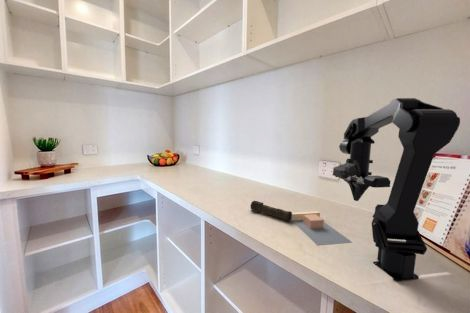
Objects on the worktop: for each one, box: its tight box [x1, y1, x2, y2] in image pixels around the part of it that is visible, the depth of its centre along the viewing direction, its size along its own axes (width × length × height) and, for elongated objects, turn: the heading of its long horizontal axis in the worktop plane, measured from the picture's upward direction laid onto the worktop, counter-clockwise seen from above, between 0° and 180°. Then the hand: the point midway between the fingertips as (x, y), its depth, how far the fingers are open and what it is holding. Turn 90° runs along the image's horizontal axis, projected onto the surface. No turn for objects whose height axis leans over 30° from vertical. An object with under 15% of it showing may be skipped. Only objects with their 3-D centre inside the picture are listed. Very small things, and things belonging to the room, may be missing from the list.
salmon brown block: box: [303, 214, 325, 229], centre depth 71 cm, size 5×5×3 cm
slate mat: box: [290, 210, 353, 247], centre depth 68 cm, size 18×12×3 cm, turn 10°
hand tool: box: [250, 200, 293, 223], centre depth 80 cm, size 19×4×5 cm, turn 47°
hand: (356, 200), depth 67 cm, fingers closed
